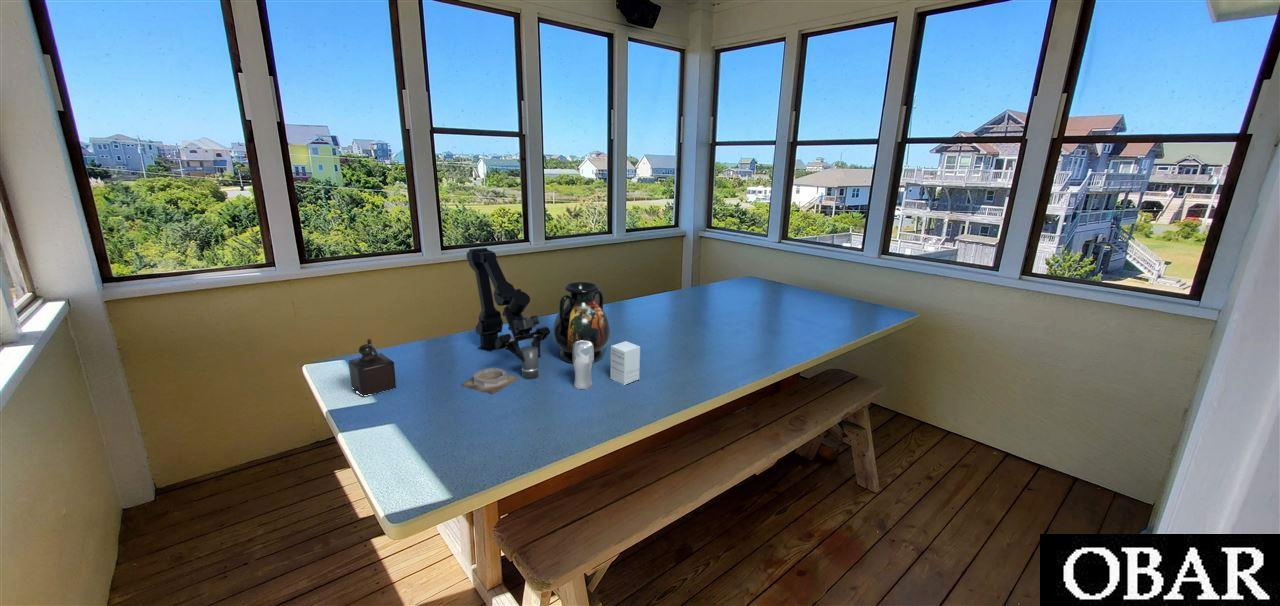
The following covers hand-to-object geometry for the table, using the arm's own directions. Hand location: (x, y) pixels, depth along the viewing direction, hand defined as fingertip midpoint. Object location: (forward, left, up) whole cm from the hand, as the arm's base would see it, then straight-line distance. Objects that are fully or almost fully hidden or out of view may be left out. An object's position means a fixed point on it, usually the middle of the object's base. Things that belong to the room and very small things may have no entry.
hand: (531, 359), depth 174 cm
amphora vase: (+5, +25, -7) cm, 26 cm away
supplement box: (+29, +14, -7) cm, 32 cm away
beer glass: (+19, +3, -7) cm, 20 cm away
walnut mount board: (-9, -10, -7) cm, 15 cm away
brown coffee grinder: (-36, -32, -7) cm, 49 cm away
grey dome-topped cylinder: (-1, +1, -7) cm, 7 cm away
